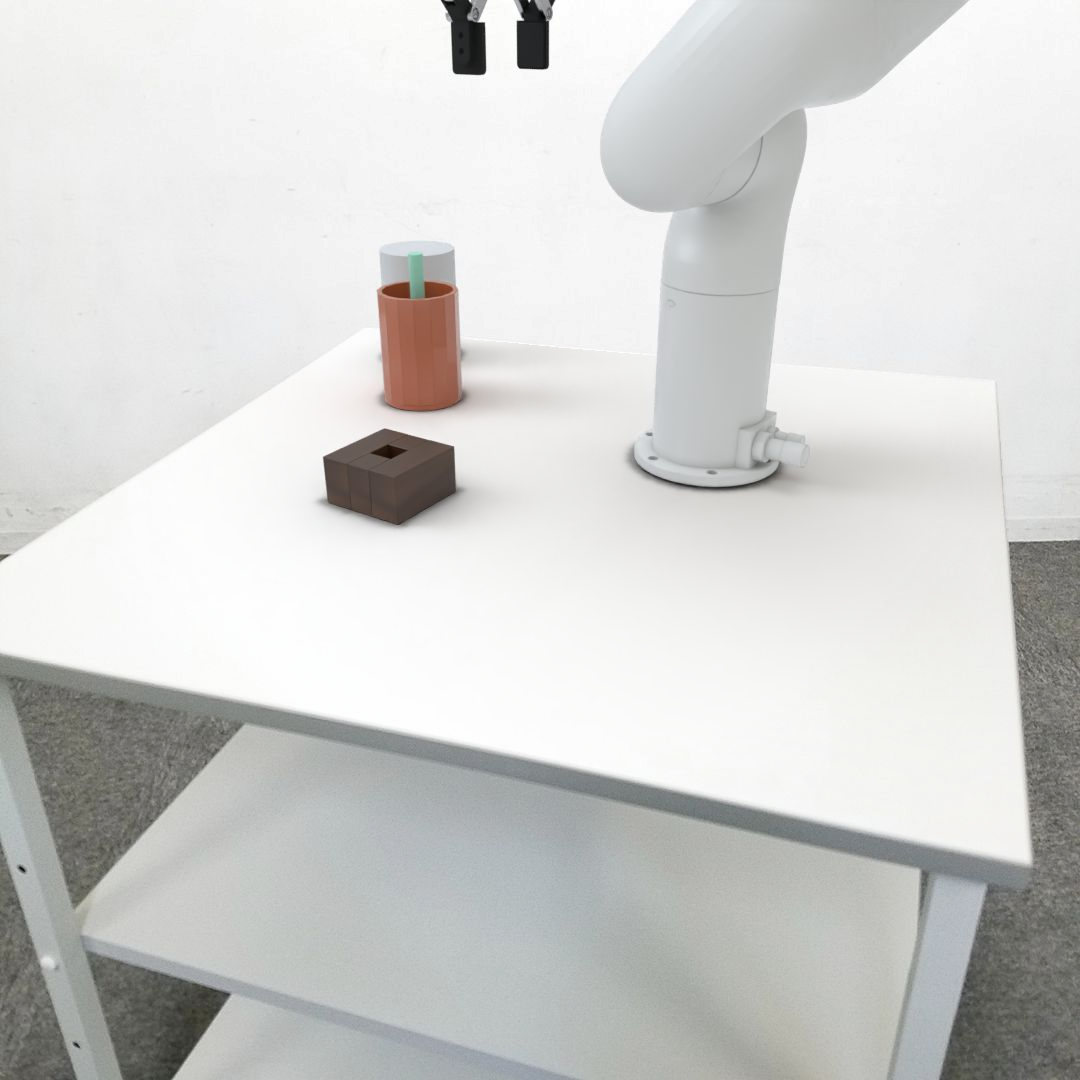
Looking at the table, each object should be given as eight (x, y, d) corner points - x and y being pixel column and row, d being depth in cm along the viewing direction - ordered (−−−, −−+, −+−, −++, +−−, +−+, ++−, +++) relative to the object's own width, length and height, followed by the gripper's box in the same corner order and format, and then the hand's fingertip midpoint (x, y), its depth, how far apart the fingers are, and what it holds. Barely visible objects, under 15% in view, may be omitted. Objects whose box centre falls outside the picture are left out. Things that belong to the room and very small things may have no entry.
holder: (456, 491, 85) (454, 446, 83) (397, 524, 80) (394, 477, 78) (387, 471, 89) (384, 427, 87) (327, 502, 83) (322, 456, 81)
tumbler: (477, 393, 106) (473, 286, 101) (429, 416, 101) (423, 304, 95) (417, 380, 110) (412, 276, 105) (368, 401, 104) (360, 292, 99)
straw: (432, 392, 105) (425, 252, 99) (424, 396, 104) (416, 255, 98) (422, 389, 106) (414, 250, 100) (413, 393, 105) (404, 253, 98)
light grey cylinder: (463, 346, 121) (460, 241, 116) (451, 367, 114) (447, 257, 108) (395, 344, 122) (388, 240, 116) (379, 365, 115) (371, 255, 109)
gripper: (472, -178, 76) (478, 78, 83) (592, -152, 88) (588, 68, 96) (393, -169, 79) (406, 75, 87) (520, -145, 92) (522, 66, 100)
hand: (502, 71), depth 92 cm, fingers open, 9 cm apart
